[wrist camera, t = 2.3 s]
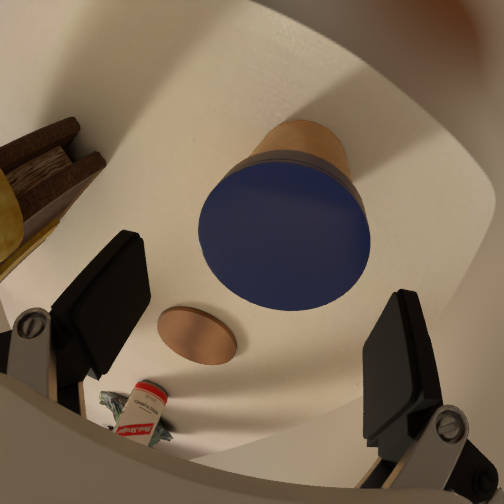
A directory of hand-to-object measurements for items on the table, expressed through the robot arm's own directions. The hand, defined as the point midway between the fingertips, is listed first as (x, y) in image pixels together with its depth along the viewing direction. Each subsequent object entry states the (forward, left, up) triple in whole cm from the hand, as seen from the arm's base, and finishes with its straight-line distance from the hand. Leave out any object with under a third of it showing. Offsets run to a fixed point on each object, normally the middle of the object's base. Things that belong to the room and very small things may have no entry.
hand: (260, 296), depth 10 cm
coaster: (+8, +22, -14) cm, 27 cm away
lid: (0, 0, -3) cm, 3 cm away
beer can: (+17, +42, -14) cm, 48 cm away
